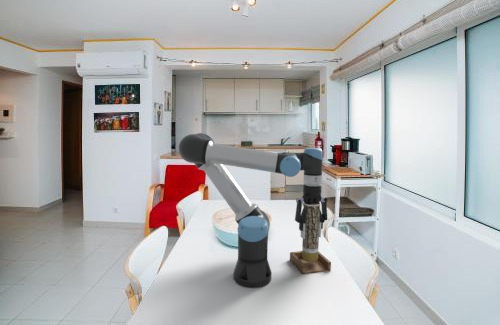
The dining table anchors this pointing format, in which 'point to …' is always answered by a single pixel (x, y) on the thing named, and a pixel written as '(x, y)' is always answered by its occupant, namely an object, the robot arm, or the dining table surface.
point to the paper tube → (311, 232)
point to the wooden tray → (310, 263)
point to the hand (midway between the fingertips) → (310, 236)
